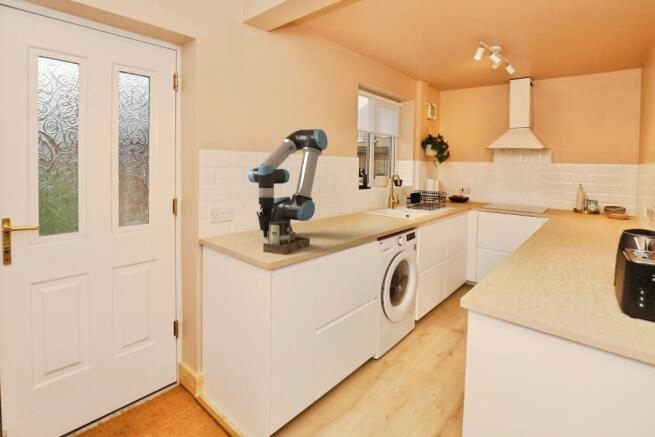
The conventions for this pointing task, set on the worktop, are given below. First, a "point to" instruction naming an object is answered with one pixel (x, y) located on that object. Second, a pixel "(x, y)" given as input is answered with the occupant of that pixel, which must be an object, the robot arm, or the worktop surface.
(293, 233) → the grey block
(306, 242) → the comb rack
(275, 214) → the robot arm
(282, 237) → the coffee can
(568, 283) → the worktop surface
